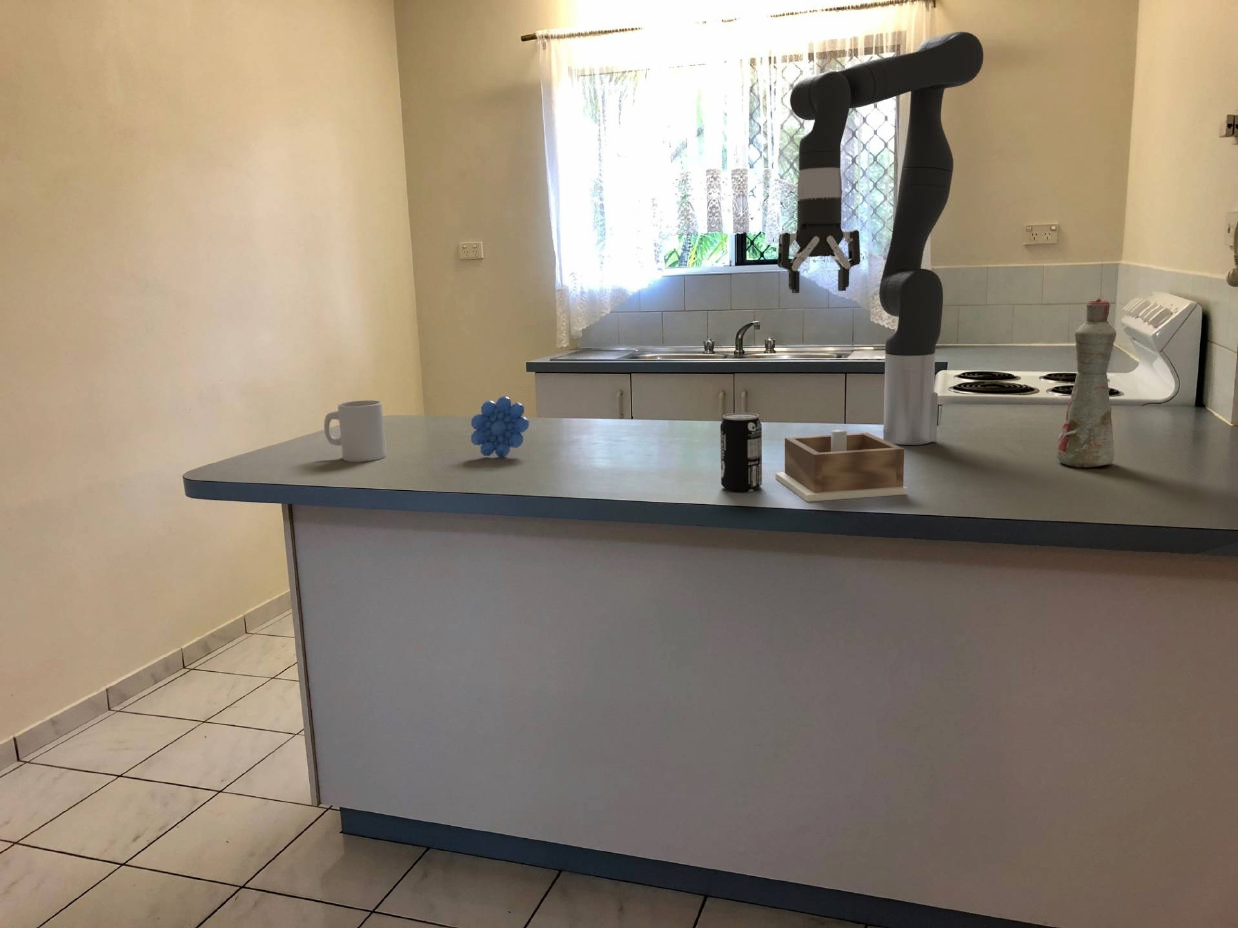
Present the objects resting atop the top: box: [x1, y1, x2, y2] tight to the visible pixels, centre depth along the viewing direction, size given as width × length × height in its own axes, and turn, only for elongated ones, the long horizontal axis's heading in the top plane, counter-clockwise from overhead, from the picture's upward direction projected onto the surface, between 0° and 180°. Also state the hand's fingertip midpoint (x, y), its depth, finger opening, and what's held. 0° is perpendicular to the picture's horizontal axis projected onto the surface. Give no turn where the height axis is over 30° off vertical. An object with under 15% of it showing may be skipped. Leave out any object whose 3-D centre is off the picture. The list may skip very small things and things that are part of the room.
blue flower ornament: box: [470, 395, 530, 458], centre depth 186 cm, size 12×7×12 cm, turn 86°
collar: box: [784, 432, 905, 493], centre depth 153 cm, size 14×14×6 cm
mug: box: [323, 400, 387, 463], centre depth 190 cm, size 12×8×11 cm
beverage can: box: [719, 412, 763, 493], centre depth 153 cm, size 7×7×12 cm
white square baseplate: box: [774, 429, 908, 502], centre depth 152 cm, size 16×16×9 cm
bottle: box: [1056, 298, 1117, 468], centre depth 159 cm, size 9×9×28 cm
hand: (818, 292), depth 168 cm, fingers open, 8 cm apart
